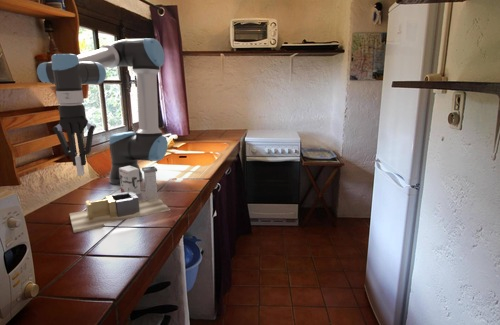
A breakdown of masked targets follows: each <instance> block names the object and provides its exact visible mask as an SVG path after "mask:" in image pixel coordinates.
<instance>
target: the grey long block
mask: <svg viewBox="0 0 500 325" xmlns="http://www.w3.org/2000/svg"><path fill="white" fill-rule="evenodd" d="M141 172H143V176H144V179H143V180H144V189H145V200H147V201H148V202H153V201H158V198H159V196H158V185H157V172H158V168H157V167H155V166H147V167H141Z"/></svg>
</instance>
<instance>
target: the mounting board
mask: <svg viewBox="0 0 500 325" xmlns="http://www.w3.org/2000/svg"><path fill="white" fill-rule="evenodd" d="M139 210H140V212H136V213H135V214H132V215H127V216H122V217H118V216H115V217H110V215H109V214H108V215H103V216H98V217H93V220H89V219H88V216H87V209H86V210H81V211H77V212H75V211H74V212H70V213H69V218H70V223H71V226H72V231H73V233H79V232H84V231H88V230H93V229H99V228H103V227H105V225H106V224H110V223H114V222H118V221H125V220H129V219H135V218H138V217H144V216H149V215H153V214H158V213H162V212H167V211H171V209H170V208H169V207H168V205H166V203H164V202H163V200H161V198H159V197H158V201H153V202H148V201H147V200H146V199H141V200H139ZM116 214H117V210H116Z"/></svg>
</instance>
